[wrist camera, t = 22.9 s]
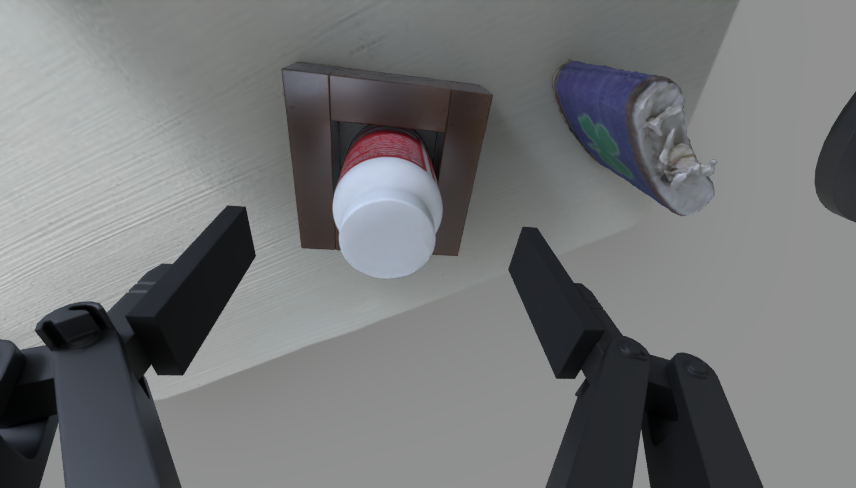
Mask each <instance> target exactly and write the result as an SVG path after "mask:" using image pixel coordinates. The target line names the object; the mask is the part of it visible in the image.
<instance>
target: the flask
mask: <svg viewBox="0 0 856 488" xmlns="http://www.w3.org/2000/svg"><path fill="white" fill-rule="evenodd" d="M553 88H554V96H555V99H556V102H557V104H558V106H559V109H560V112H561V113H562V115H563V119H564V120H565V123H566V124H567V125H568V127H569V130H570V131H571V132H572V133H573V134H574V135H575V136H576V138H577V139H578V140H579V142H580V143H581V144H582V146H584V148H585V149H586V151H587V152H588V153H589V154H590V155H591V156H592V157H593V158H594V159H595V160H596V161H598V162H599V163H600V164H601V165H603V166H605V167H606V168H608V169H610V170H611V171H613V172H614V173H615V174H617V175H618V176H620V177H622V178H624V179H625V180H627V181H628V182H630V183H631V184H632V185H633V186H635V187H637V188H638V189H639V190H641V191H642V192H644V193H645V194H647V195H649V196H650V197H652V198H653V199H655V200H656V201H657V202H658V203H660V204H661V205H663V206H665V207H666V208H668V209H669V210H670V211H671V212H673V213H675V214H677V215H680V216H685V215H689V214H694V213H696V212H698V211H700V210H701V209H702V208H703V207H704V206H706V205H707V204H708V203H709V201H710V199H711V198H712V197H713V196H714V186H713V183H712V181H711V180H710V178H709V177H708V176H711V175H712V174H714V166H715V165H716V163H717V161H716V160H715V159H713V160H711V161H710V163H709V164H708V165H703V166H701V164H700V163H699V162H698V160H697V159H696V156H695V154H694V152H693V149H692V147H691V144H690V140H689V138H688V136H687V132H686V127H685V124H684V111H683V108H684V102H685V100H684V97H683V94H682V91H681V88H680V87H679V86H678V85H677V84H676V83H675V82H673V81H672V80H671V79H669V78H667V77H663V76H657V75H647V74H643V73H638V72H630V71H624V70H618V69H614V68H611V67H608V66H597V65H591V64H585V63H582V62H579V61H572V60H570V59H569V60H568V62H567V63H565V64H563V65H562V66H561V67H560V68H558V70H557V72H556V74H555V75H554V77H553Z"/></svg>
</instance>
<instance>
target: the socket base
mask: <svg viewBox="0 0 856 488" xmlns="http://www.w3.org/2000/svg"><path fill="white" fill-rule="evenodd" d="M282 77H283V86H284V95H285V104H286V113H287V122H288V131H289V140H290V149H291V158H292V167H293V176H294V185H295V194H296V203H297V212H298V221H299V230H300V239H301V248H309V249H329V250H341V249H340V245H339V230H338V228H337V226H336V224H335V221H334V217H333V198H334V193H335V189H336V186H337V183H338V180H339V177H340V148H339V121H340V122H350V123H359V124H369V125H378V126H388V127H398V128H407V129H417V130H426V131H436V132H437V139H436V146H435V153H434V160H433V170H434V174H435V177H436V180H437V184H438V187H439V190H440V194H441V198H442V205H443V213H442V220H441V223H440V226H439V228H438V230H437V232H436V234H435V236H436V241H435V247H434V250H433V253H432V255H449V256H458V252H459V248H460V243H461V238H462V234H463V229H464V225H465V220H466V216H467V211H468V206H469V202H470V197H471V193H472V188H473V183H474V179H475V174H476V170H477V165H478V160H479V156H480V151H481V147H482V142H483V137H484V133H485V128H486V124H487V119H488V115H489V110H490V105H491V101H492V96H493V95H492V94H491V93H490V92H488V91H487V90H486V89H484V88H483V87H482V86H480V85H476V84H468V83H460V82H452V81H444V80H436V79H428V78H420V77H413V76H405V75H397V74H389V73H381V72H373V71H365V70H358V69H350V68H342V67H338V68H337V67H334V66H326V65H319V64H311V63H303V62H296V63H294V64H291V65H289V66H287V67H285V68H282Z"/></svg>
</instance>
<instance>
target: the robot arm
mask: <svg viewBox="0 0 856 488" xmlns="http://www.w3.org/2000/svg"><path fill="white" fill-rule="evenodd" d="M255 257H256V254H255V250H254V245H253V240H252V235H251V230H250V226H249V221H248V216H247V211H246V207H241V206H226V208H225V209H224V210H223V211H222V212H221V213H220V214H219V215H218V216H217V217H216V218H215V219H214V220H213V222H212V223H211V224H210V225H209V226H208V227H207V228H206V229H205V230H204V231H203V232H202V233H201V234H200V236H199V237H198V238H197V239H196V240H195V241H194V242H193V243H192V244H191V245H190V246H189V247H188V248H187V249H186V251H185V252H184V253H183V254H182V255H181V256H180V257H179V258H178V259H177V260H176V261H175V262H174V263H173V264H161V265H159V266H157V267H156V268H154V269H152V270H150V271H149V272H147V273H146V274H145V275H144V276H143V277H142V278H141V279H140V280H139V281H138V282H137V284H135V285H134V286H133V287H132V288H131V289H130V290H129V293H126V294H125V295H124V296H123V297H122V298H121V299H120V300H119V301H118V302H117V303H116V304H115V305H114V306H113V307H112V308H111V309H110V310H109V311H108V312H107V313H106V311H105V310H104V308H103V307H102V306H101V304H99V303H96V302H78V303H74V304H69V305H67V306H64V307H61V308H59V309H56V310H54V311H53V312H51V313H50V314H48V315H46V316H45V317H44V318H43V319H42V320H41V321H39V322H38V323H37V326H36V328H35V332H36V333H37V334H38V335H39V337H40V338H41V339H42V340H43V342H44V343H45V344H46V345H45V346H39V347H34V348H29V349H23V350H19V348H18V347H17V346H16V345H15V344H14V343H13V342H11V341H10V340H1V339H0V488H39V487H40V484H41V480H42V477H43V473H44V470H45V467H46V463H47V460H48V456H49V453H50V449H51V446H52V442H53V439H54V435H55V432H56V428H57V425H58V422H59V431H60V441H61V450H62V460H63V470H64V480H65V488H181V484H180V481H179V478H178V475H177V472H176V469H175V466H174V463H173V460H172V457H171V454H170V450H169V447H168V445H167V442H166V438H165V435H164V432H163V429H162V426H161V423H160V420H159V417H158V413H157V410H156V407H155V404H154V401H153V398H152V395H151V392H150V389H149V386H148V383H147V380H146V378H145V377H144V374H145V372H146V371H147V370H148V368H149V367H150V365H151V364H152V366H153V368H154V370H155V371H156V373H157V375H184V373H185V371H186V370H187V368H188V366H189V365H190V363H191V362H192V360H193V358H194V357H195V355H196V353H197V352H198V350H199V348H200V347H201V345H202V344H203V342H204V340H205V339H206V337H207V335H208V334H209V332H210V330H211V329H212V327H213V325H214V324H215V322H216V321H217V319H218V317H219V316H220V314H221V312H222V311H223V309H224V307H225V306H226V304H227V302H228V301H229V299H230V298H231V296H232V294H233V293H234V291H235V289H236V288H237V286H238V284H239V283H240V281H241V280H242V278H243V276H244V275H245V273H246V271H247V270H248V268H249V266H250V265H251V263H252V261H253V260H254V258H255ZM508 270H509V272H510V274H511V277H512V279H513V281H514V284H515V285H516V288H517V290H518V293H519V295H520V297H521V299H522V302H523V304H524V306H525V309H526V311H527V313H528V315H529V318H530V320H531V322H532V324H533V327H534V329H535V331H536V334H537V336H538V338H539V340H540V343H541V345H542V347H543V349H544V352H545V354H546V356H547V358H548V361H549V363H550V365H551V368H552V370H553V372H554V374H555V377H556V378H557V379H575V378H576V376H577V375H578V373H579V371H580V370H581V369H582V371H583V373H584V375H585V377H586V379H585V380H584V382H583V383H582V385H581V386H580V388H579V389H578V391H577V392H576V394H575V395H576V396H578V397H577V400H576V403H575V406H574V409H573V411H572V414H571V417H570V420H569V423H568V426H567V428H566V432H565V434H564V437H563V440H562V443H561V445H560V448H559V451H558V454H557V457H556V459H555V462H554V465H553V468H552V471H551V474H550V476H549V479H548V482H547V485H546V488H632V486H633V480H634V473H635V466H636V459H637V453H638V446H639V439H640V432H641V430H642V436H643V442H644V449H645V455H646V462H647V468H648V474H649V481H650V487H651V488H763V485H762V483H761V481H760V478H759V476H758V474H757V471H756V469H755V466H754V464H753V461H752V459H751V456H750V454H749V452H748V449H747V447H746V444H745V442H744V440H743V437H742V435H741V432H740V430H739V428H738V425H737V422H736V420H735V418H734V415H733V413H732V410H731V408H730V405H729V403H728V401H727V398H726V396H725V393H724V391H723V388H722V386H721V384H720V381H719V379H718V376H717V375H716V373H715V372H714V370H713V369H712V368H711V367H710V366H709V365H708V364H707V363H705V362H704V361H702V360H701V359H699V358H698V357H695V356H693V355H691V354H687V353H677V354H676V355H675V356H674V357H673V358H672V359H671V360H667V359H664V358H660V357H656V356H653V355H650V354H649V353H648V351H647V350H646V349H645V348H644V347H643V346H642V345H641V344H640V343H638V342H637V341H635V340H633V339H631V338H629V337H626V336H623V335H622V334H621V333H620V331H619V330H618V328H617V327H616V326H615V324H614V323H613V321H612V320H611V319H610V317H609V316H608V314H607V313H606V311H605V310H603V307H602V306H601V304H600V303H598V300H597V299H596V297H595V296H594V295H593V293H592V292H591V291H590V290H589V289H587V288H586V287H585V286H584V285H583V284H581V283H573V281H572V280H571V278H570V277H569V275H568V274H567V272H566V271H565V269H564V268H563V266H562V265H561V263H560V262H559V260H558V259H557V257H556V256H555V254H554V253H553V251H552V250H551V248H550V247H549V245H548V244H547V242H546V241H545V239H544V238H543V236H542V235H541V233H540V232H539V230H538V229H537V228H532V227H522V230H521V233H520V236H519V239H518V242H517V245H516V248H515V251H514V254H513V257H512V260H511V263H510V266H509V269H508Z"/></svg>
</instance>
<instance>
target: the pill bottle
mask: <svg viewBox="0 0 856 488" xmlns="http://www.w3.org/2000/svg"><path fill="white" fill-rule="evenodd" d="M442 213H443V205H442V198H441V194H440V190H439V187H438V184H437V180H436V177H435V174H434V170H433V166H432V163H431V159H430V155H429V152H428V150H427V147H426V145H425V143H424V142H423V141H422V139H421V138H420V137H419V135H418V134H417V133H415V132H414V131H413V130H412V129H407V128H398V127H388V126H378V125H370V126H368V127H366V128H364V129H363V130H362V131H360V132H359V133H358V134H357V135H356V137H355V138H354V139H353V141H352V143H351V145H350V147H349V149H348V152H347V155H346V158H345V161H344V165H343V168H342V171H341V174H340V177H339V180H338V183H337V186H336V189H335V193H334V198H333V217H334V221H335V224H336V226H337V228H338V230H339V245H340V249H341V252H342V254H343V256H344V257H345V259H346V260H347V261H348V263H349V264H350V265H351V266H352V267H354V268H355V269H356V270H358V271H360V272H361V273H363V274H366V275H368V276H372V277H376V278H383V279H393V278H399V277H403V276H407V275H409V274H411V273H413V272H415V271H417V270H418V269H420V268H421V267H422V266H423V265H424V264H425V263H426V262H427V261H428V260H429V258H430V257H431V255H432V253H433V250H434V247H435V241H436V236H435V234H436V232H437V230H438V228H439V226H440V223H441V220H442Z"/></svg>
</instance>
